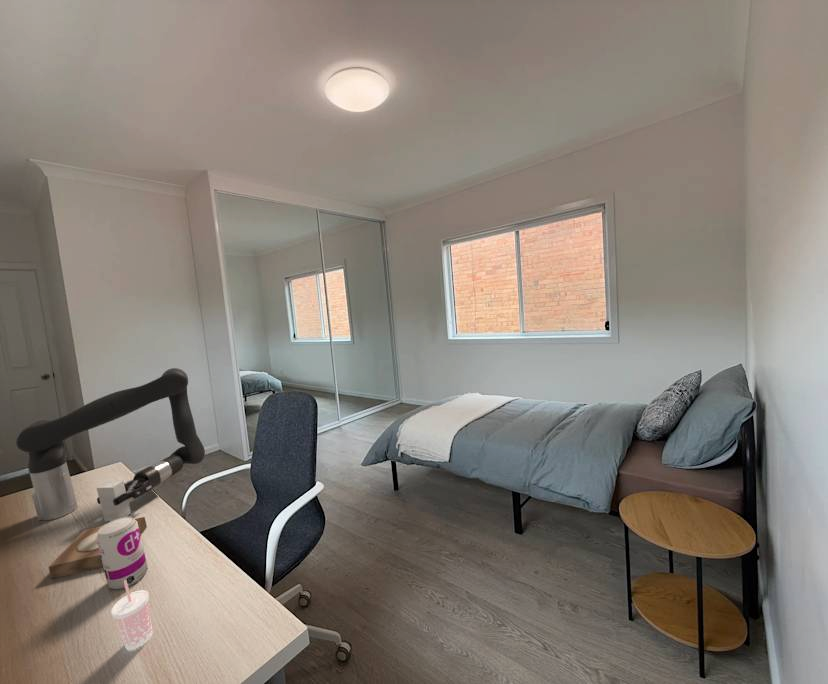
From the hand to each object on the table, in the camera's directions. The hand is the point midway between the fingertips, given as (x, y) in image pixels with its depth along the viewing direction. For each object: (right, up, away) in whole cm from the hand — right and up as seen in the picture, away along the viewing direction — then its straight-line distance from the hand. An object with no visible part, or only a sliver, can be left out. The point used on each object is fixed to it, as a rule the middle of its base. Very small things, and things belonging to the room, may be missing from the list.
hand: (106, 502), depth 120 cm
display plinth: (+10, -8, -13) cm, 18 cm away
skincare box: (+1, -7, +3) cm, 8 cm away
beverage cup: (+43, -10, -43) cm, 62 cm away
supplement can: (+27, -9, -25) cm, 38 cm away
